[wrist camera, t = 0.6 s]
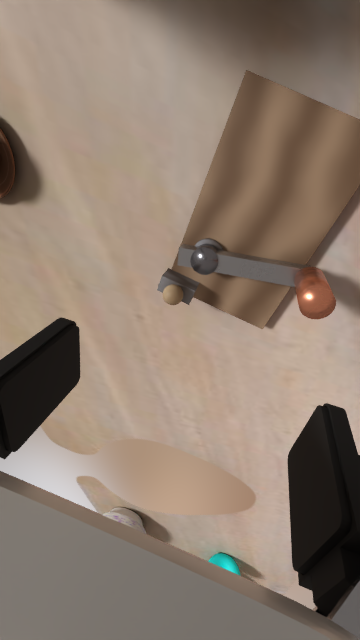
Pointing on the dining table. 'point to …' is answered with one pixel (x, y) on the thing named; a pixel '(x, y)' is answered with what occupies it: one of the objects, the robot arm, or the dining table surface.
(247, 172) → the wooden lever base
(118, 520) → the paper bowls
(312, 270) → the lever
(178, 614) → the robot arm
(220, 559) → the donuts
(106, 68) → the dining table surface
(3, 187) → the cup and saucer
